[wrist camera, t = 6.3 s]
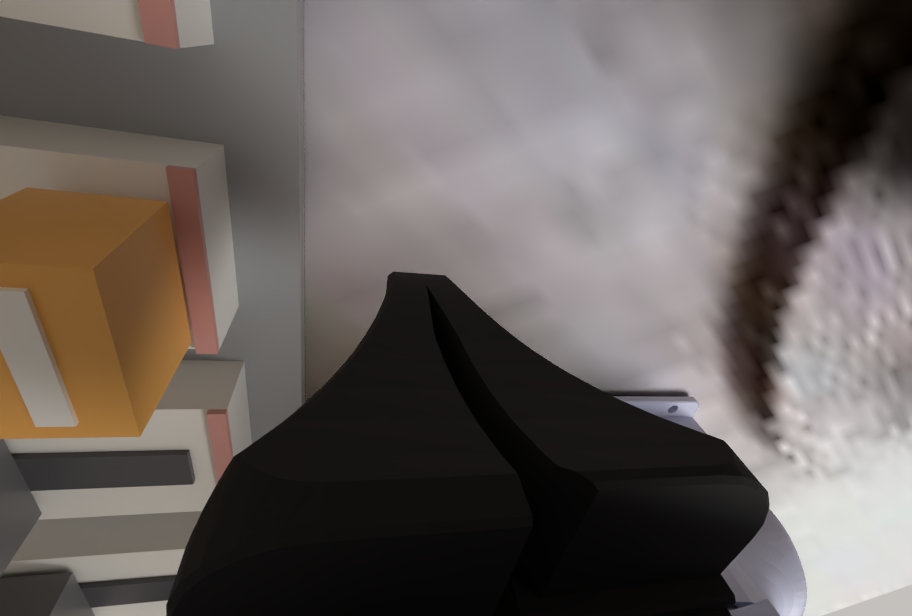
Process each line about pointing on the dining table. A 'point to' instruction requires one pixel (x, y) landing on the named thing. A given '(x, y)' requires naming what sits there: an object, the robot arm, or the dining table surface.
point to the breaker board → (200, 264)
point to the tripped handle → (86, 313)
